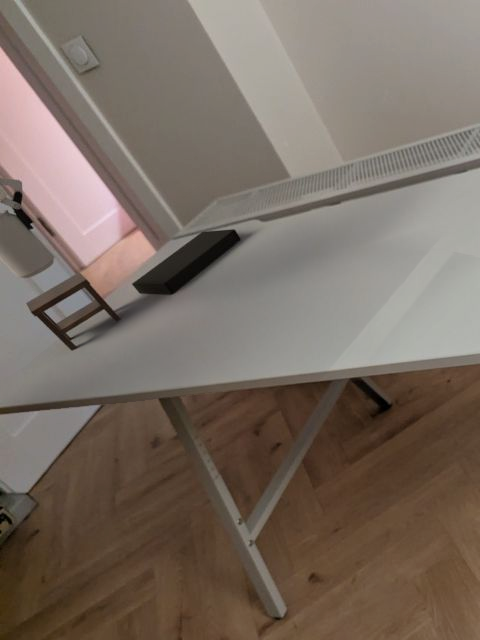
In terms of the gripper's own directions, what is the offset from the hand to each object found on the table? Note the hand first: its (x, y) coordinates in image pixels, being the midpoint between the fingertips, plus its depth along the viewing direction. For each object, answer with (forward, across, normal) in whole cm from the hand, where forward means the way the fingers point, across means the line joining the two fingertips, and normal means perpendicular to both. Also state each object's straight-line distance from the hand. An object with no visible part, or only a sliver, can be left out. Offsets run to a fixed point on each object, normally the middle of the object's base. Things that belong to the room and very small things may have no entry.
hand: (9, 238), depth 104 cm
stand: (+25, -1, +6) cm, 25 cm away
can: (+7, 0, 0) cm, 7 cm away
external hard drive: (+25, +25, +7) cm, 36 cm away
